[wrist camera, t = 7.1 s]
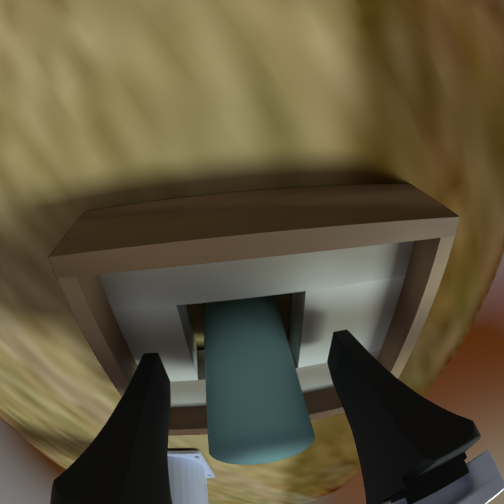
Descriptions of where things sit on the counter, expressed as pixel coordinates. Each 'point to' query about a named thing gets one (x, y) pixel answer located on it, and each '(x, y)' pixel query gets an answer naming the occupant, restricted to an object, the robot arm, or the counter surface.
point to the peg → (252, 384)
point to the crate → (256, 278)
